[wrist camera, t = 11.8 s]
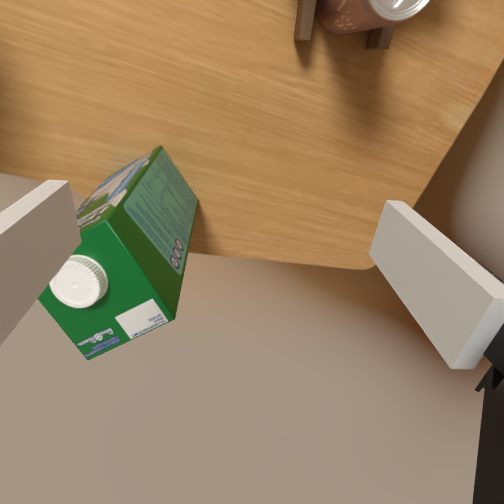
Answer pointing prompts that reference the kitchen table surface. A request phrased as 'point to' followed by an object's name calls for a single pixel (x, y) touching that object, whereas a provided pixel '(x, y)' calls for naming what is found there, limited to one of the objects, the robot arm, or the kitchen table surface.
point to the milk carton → (125, 257)
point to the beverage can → (365, 14)
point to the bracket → (304, 24)
